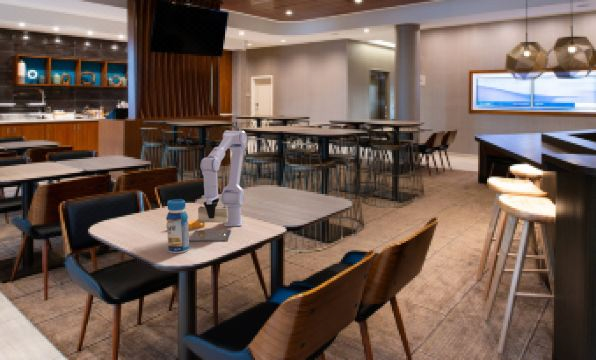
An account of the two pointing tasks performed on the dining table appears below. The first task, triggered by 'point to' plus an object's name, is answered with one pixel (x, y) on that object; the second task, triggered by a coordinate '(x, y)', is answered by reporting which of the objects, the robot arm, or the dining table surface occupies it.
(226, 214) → the spacer bar
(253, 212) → the dining table surface
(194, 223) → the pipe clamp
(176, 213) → the beverage bottle
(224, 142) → the robot arm
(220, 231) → the bolt plate
